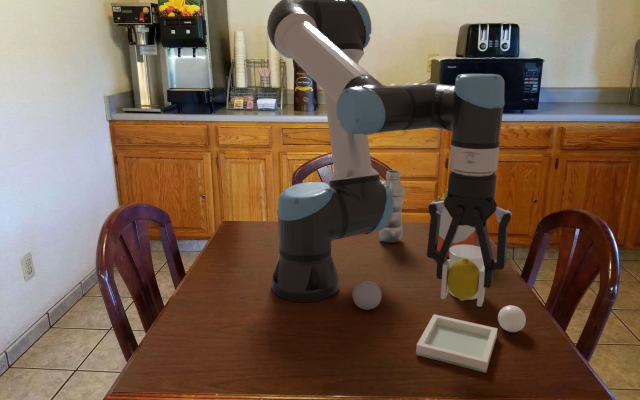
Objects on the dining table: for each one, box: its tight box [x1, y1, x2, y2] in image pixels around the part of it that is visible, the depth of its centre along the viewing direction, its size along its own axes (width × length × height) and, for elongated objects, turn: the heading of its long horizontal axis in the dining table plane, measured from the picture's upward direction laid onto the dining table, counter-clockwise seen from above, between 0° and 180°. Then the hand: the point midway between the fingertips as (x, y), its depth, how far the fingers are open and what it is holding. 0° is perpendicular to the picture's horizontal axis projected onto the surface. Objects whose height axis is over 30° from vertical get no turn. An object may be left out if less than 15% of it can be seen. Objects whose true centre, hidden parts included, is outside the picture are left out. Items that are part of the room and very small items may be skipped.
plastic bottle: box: [378, 169, 406, 243], centre depth 141 cm, size 6×7×20 cm
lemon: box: [447, 258, 480, 302], centre depth 89 cm, size 6×6×8 cm
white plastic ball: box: [497, 304, 527, 333], centre depth 97 cm, size 5×5×5 cm
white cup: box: [448, 245, 484, 301], centre depth 112 cm, size 8×8×10 cm
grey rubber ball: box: [351, 279, 383, 311], centre depth 106 cm, size 6×6×6 cm
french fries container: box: [435, 188, 476, 258], centre depth 133 cm, size 5×11×18 cm, turn 107°
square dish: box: [415, 314, 498, 374], centre depth 93 cm, size 12×12×2 cm
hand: (462, 298), depth 90 cm, fingers closed on lemon, 5 cm apart
